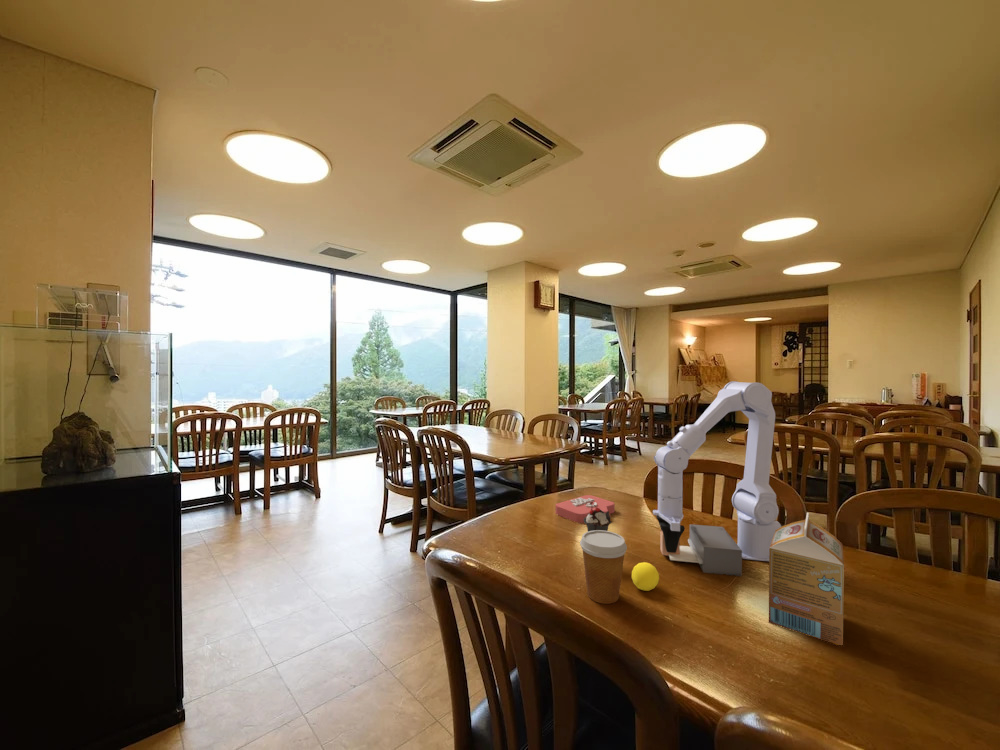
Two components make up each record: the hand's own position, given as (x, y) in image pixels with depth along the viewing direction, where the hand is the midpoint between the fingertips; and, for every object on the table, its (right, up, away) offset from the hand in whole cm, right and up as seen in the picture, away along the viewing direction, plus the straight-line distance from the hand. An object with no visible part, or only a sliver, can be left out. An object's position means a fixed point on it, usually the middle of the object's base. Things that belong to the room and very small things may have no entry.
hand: (669, 548), depth 102 cm
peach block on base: (+5, -1, -1) cm, 5 cm away
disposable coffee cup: (-21, -2, -18) cm, 28 cm away
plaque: (-14, -2, +30) cm, 33 cm away
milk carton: (+15, -3, -26) cm, 30 cm away
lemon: (-12, -2, -15) cm, 19 cm away
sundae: (-19, -2, -3) cm, 19 cm away
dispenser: (+10, -2, -2) cm, 10 cm away
